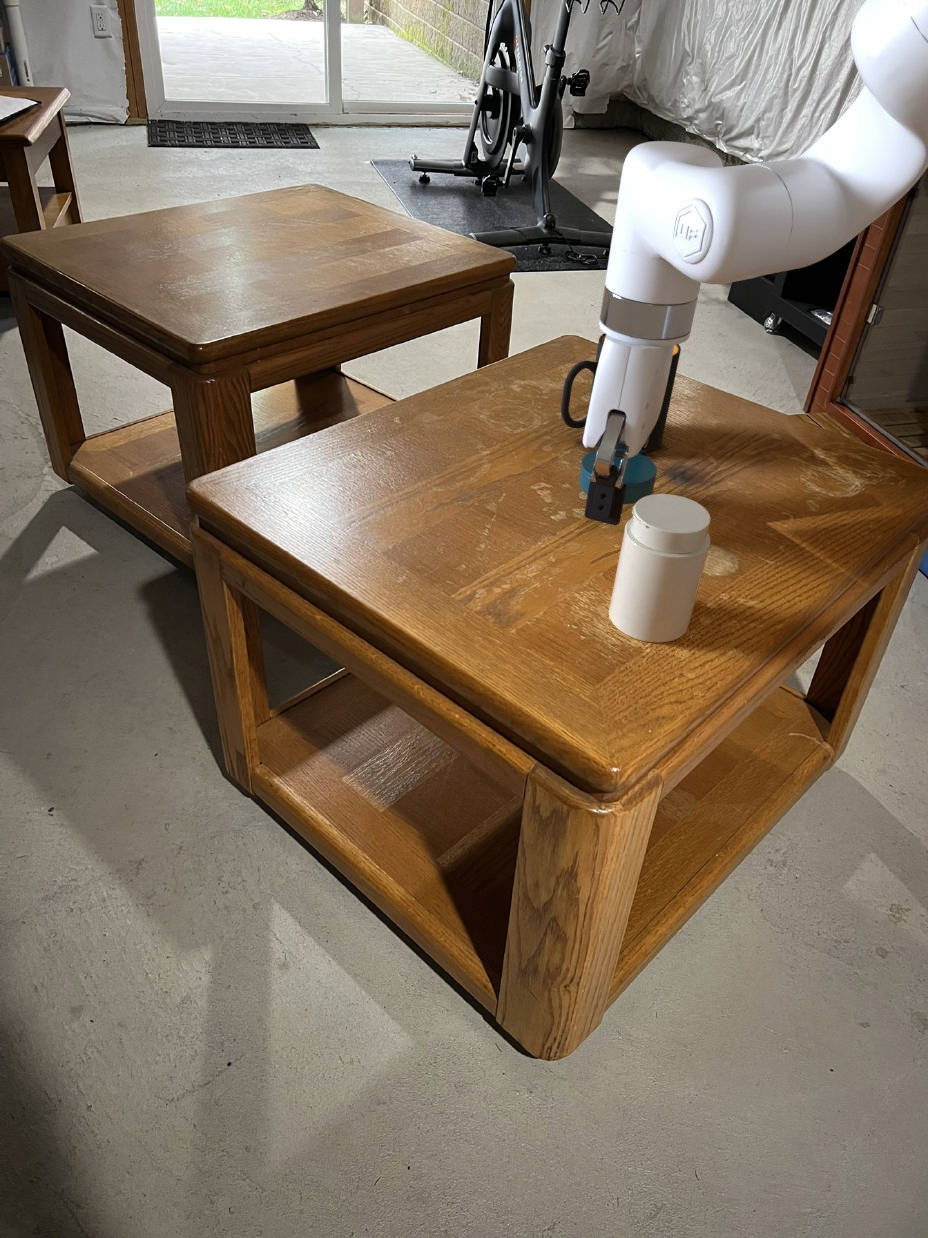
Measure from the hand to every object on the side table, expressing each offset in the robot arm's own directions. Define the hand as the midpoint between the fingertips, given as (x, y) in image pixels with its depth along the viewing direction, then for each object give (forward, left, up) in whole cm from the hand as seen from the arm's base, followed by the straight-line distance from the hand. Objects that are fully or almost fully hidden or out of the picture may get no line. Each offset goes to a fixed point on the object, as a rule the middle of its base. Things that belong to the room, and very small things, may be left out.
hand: (613, 500), depth 87 cm
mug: (-6, -14, -1) cm, 15 cm away
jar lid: (0, 0, +3) cm, 3 cm away
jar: (+4, +16, -1) cm, 17 cm away
